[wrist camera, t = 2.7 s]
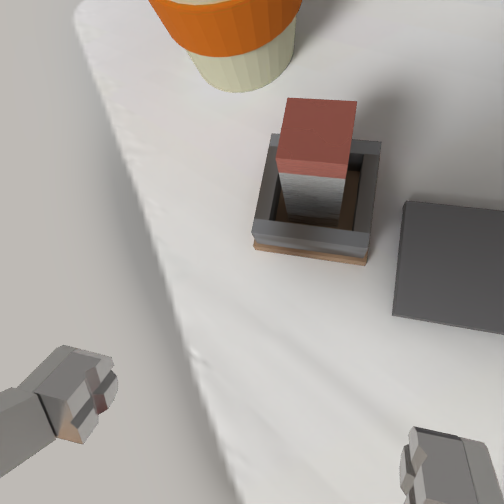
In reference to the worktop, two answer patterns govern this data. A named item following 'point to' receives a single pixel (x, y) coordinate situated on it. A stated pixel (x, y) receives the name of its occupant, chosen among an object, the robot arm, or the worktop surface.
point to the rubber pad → (451, 266)
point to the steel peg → (315, 158)
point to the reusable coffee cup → (233, 38)
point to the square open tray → (318, 236)
